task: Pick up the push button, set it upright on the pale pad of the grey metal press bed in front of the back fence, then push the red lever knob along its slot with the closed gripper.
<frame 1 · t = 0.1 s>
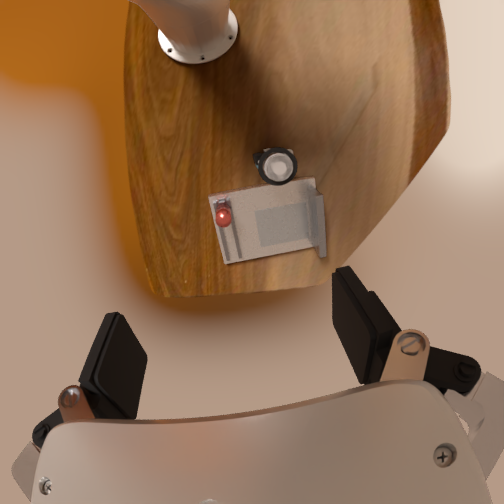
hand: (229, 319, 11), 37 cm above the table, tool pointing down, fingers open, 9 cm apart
push button: (271, 155, 44), on the table
lever: (223, 214, 43), point 4 cm above the table, slide at 0.0 cm
press bed: (266, 219, 49), on the table
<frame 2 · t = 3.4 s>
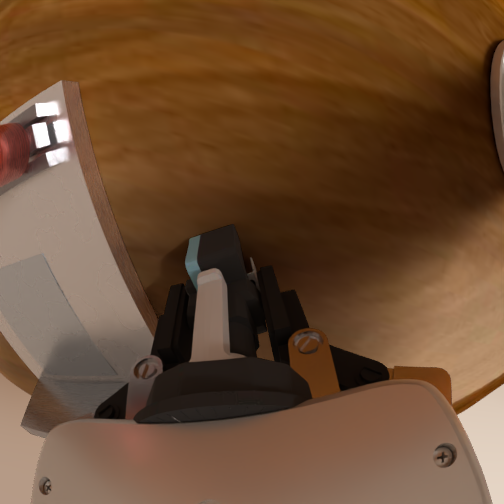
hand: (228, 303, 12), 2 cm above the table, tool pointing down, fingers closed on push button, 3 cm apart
push button: (228, 279, 14), on the table, touching gripper
press bed: (43, 278, 13), on the table
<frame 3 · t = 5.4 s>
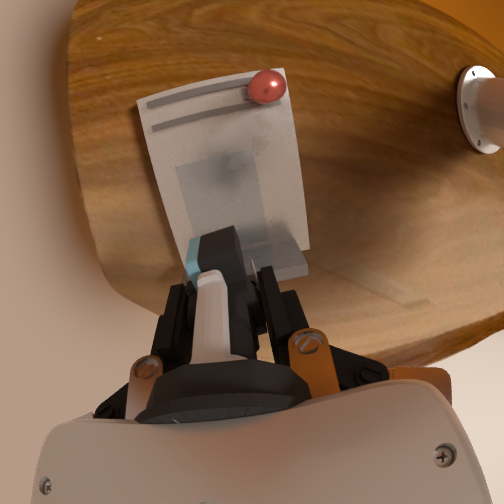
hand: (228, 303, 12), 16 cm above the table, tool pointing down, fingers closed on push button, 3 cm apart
push button: (229, 280, 14), point 14 cm above the table, touching gripper
lever: (263, 88, 18), point 4 cm above the table, slide at 0.0 cm
press bed: (228, 172, 25), on the table
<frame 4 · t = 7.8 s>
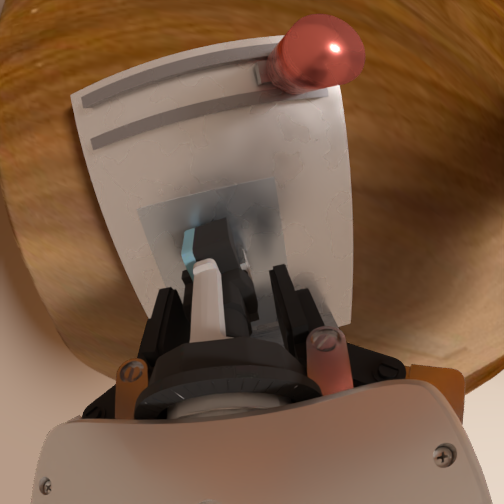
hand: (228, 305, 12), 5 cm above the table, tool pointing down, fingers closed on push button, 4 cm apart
push button: (222, 270, 15), point 2 cm above the table, touching gripper
lever: (304, 62, 8), point 4 cm above the table, slide at 0.0 cm
press bed: (230, 214, 15), on the table
when the fingers open (5 cm above the table, at t = 7.8 s): push button stays where it is, resting on press bed.
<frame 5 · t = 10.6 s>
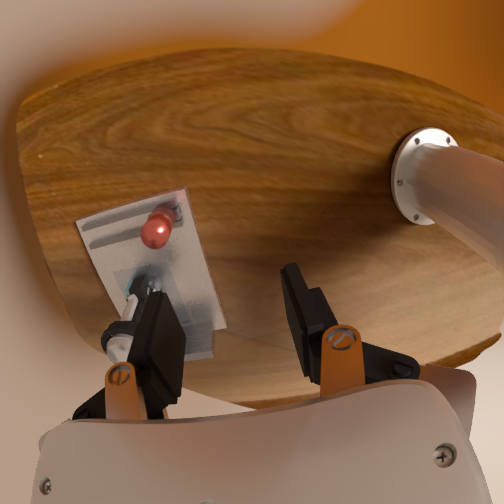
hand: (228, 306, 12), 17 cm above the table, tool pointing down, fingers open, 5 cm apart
push button: (148, 296, 31), point 1 cm above the table, touching press bed
lever: (160, 224, 24), point 4 cm above the table, slide at 0.0 cm
press bed: (155, 272, 31), on the table
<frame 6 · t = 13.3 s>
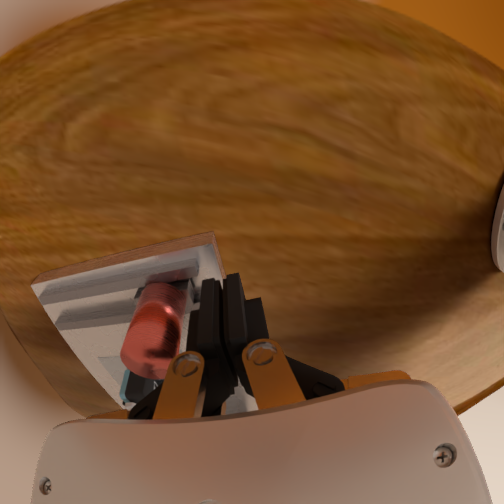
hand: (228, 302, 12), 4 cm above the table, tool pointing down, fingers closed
push button: (154, 387, 19), point 1 cm above the table, touching press bed
lever: (157, 321, 12), point 4 cm above the table, slide at 0.6 cm, touching gripper
press bed: (162, 356, 19), on the table
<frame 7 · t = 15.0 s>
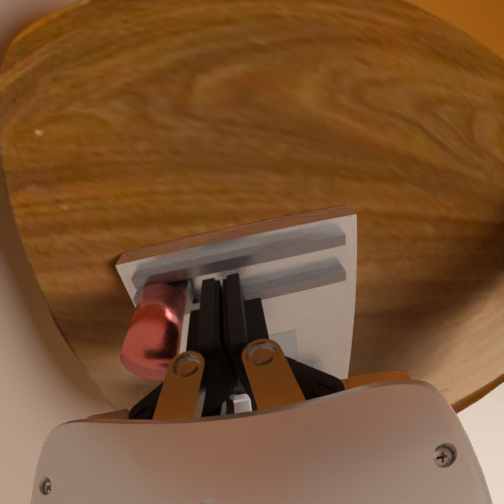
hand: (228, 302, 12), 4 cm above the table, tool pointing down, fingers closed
push button: (247, 377, 19), point 1 cm above the table, touching press bed
lever: (157, 322, 12), point 4 cm above the table, slide at 8.1 cm, touching gripper
press bed: (259, 341, 19), on the table
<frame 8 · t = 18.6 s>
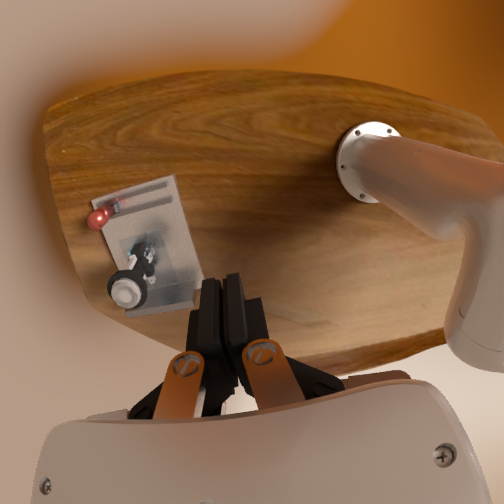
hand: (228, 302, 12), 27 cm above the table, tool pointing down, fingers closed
push button: (145, 259, 39), point 1 cm above the table, touching press bed
lever: (101, 215, 33), point 4 cm above the table, slide at 8.0 cm
press bed: (151, 241, 40), on the table
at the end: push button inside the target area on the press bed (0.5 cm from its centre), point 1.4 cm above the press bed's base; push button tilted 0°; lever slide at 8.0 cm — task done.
